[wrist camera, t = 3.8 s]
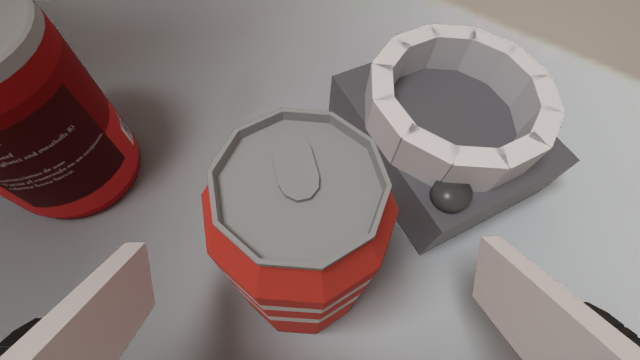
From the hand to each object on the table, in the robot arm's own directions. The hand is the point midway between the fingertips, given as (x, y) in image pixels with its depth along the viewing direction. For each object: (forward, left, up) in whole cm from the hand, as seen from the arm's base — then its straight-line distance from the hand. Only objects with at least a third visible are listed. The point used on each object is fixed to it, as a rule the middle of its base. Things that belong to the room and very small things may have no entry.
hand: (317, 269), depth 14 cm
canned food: (-14, -10, -7) cm, 19 cm away
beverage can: (-1, 0, -7) cm, 7 cm away
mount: (-5, +12, -7) cm, 15 cm away
